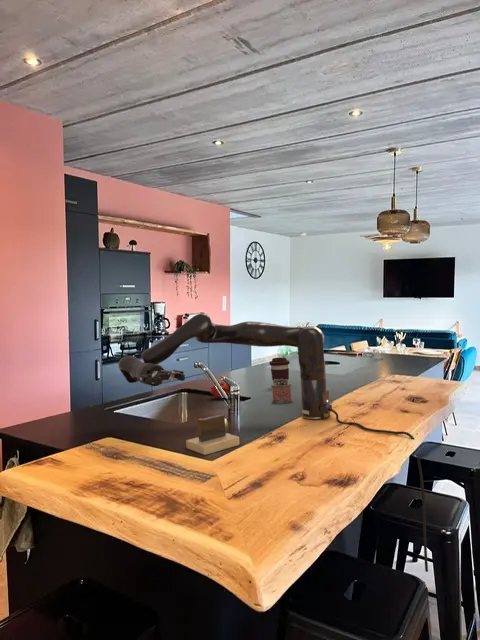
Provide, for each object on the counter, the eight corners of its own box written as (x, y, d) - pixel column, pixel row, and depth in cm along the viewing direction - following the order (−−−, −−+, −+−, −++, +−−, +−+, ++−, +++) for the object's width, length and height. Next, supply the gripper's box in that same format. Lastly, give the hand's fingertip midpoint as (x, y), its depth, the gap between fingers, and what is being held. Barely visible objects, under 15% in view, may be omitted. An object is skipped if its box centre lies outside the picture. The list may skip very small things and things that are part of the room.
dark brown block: (222, 434, 152) (221, 413, 152) (225, 435, 151) (224, 414, 150) (198, 441, 146) (197, 419, 146) (201, 442, 145) (200, 419, 145)
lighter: (291, 400, 209) (290, 377, 209) (291, 402, 205) (290, 379, 205) (272, 401, 210) (271, 378, 209) (272, 403, 206) (271, 380, 206)
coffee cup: (283, 390, 234) (281, 359, 234) (267, 389, 241) (265, 359, 241) (294, 386, 242) (293, 357, 241) (279, 385, 248) (277, 356, 248)
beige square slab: (218, 438, 158) (217, 429, 158) (243, 445, 148) (242, 437, 147) (183, 447, 150) (182, 438, 150) (207, 456, 139) (206, 447, 139)
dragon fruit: (211, 400, 228) (232, 405, 222) (203, 393, 222) (225, 398, 216) (218, 384, 232) (239, 389, 226) (210, 376, 225) (232, 381, 219)
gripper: (130, 365, 167) (151, 370, 154) (167, 361, 175) (190, 365, 162) (131, 387, 167) (153, 393, 154) (168, 381, 176) (191, 387, 163)
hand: (172, 379), depth 158 cm, fingers open, 8 cm apart
